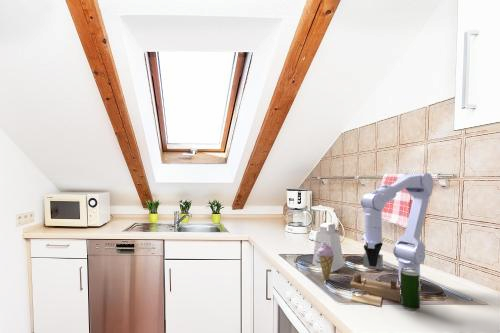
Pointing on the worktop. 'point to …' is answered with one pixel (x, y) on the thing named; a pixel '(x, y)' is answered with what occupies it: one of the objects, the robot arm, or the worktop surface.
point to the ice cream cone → (325, 259)
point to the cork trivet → (368, 299)
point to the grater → (333, 240)
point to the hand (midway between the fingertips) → (373, 264)
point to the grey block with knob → (379, 261)
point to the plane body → (377, 287)
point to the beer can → (410, 288)
